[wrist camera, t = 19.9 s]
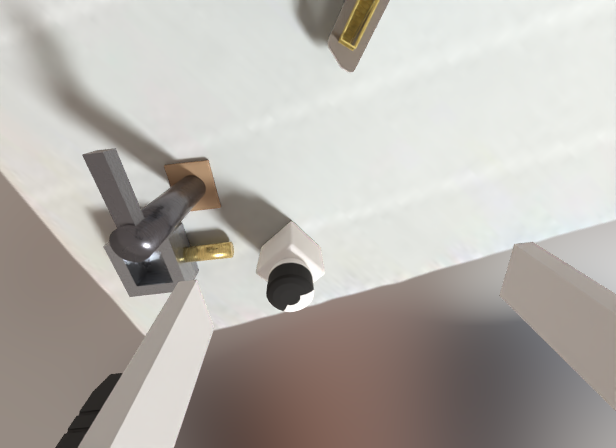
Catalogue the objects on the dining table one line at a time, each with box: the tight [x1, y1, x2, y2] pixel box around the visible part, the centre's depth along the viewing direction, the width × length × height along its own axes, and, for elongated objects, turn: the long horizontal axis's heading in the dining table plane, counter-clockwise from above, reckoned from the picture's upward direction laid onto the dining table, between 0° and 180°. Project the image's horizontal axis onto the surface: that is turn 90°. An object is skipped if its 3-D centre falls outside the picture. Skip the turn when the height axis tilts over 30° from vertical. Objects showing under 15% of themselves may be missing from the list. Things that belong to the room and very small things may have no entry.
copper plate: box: [164, 160, 221, 211], centre depth 38 cm, size 7×6×1 cm
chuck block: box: [103, 223, 234, 297], centre depth 41 cm, size 9×16×5 cm, turn 96°
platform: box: [328, 0, 390, 72], centre depth 28 cm, size 12×18×7 cm, turn 153°
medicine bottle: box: [256, 221, 325, 312], centre depth 38 cm, size 7×7×12 cm
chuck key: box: [83, 148, 206, 262], centre depth 29 cm, size 10×4×16 cm, turn 6°
